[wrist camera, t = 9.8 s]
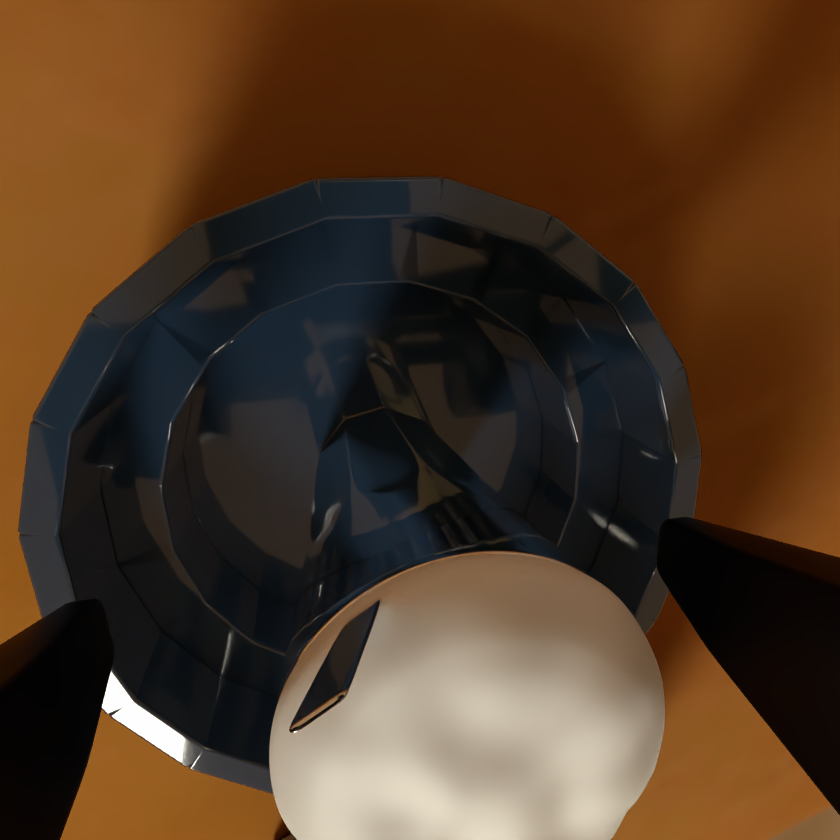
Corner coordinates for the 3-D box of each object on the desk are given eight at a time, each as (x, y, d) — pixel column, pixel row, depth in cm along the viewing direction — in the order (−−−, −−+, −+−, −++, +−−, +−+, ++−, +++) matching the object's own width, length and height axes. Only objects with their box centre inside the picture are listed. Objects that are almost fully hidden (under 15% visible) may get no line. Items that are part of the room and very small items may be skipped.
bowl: (604, 194, 14) (739, 170, 9) (579, 616, 17) (668, 735, 13) (58, 207, 11) (-85, 183, 7) (162, 685, 15) (107, 854, 11)
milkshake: (389, 316, 13) (622, 504, 3) (501, 487, 15) (847, 908, 5) (227, 428, 13) (15, 915, 3) (359, 584, 15) (454, 1176, 5)
